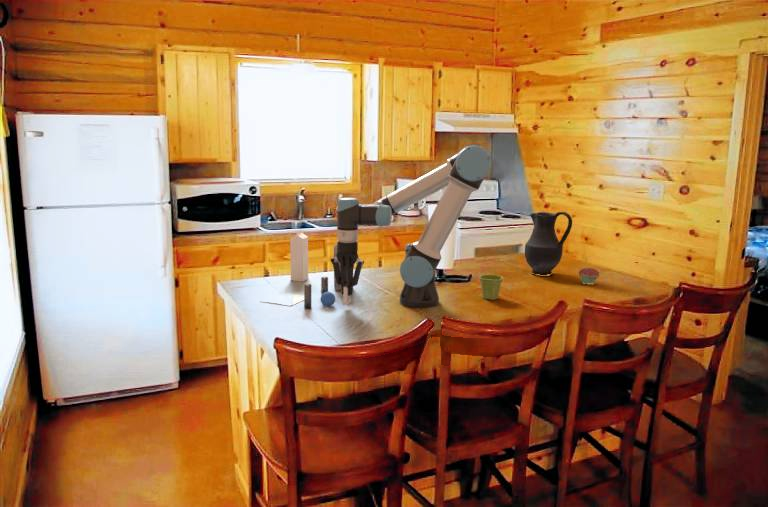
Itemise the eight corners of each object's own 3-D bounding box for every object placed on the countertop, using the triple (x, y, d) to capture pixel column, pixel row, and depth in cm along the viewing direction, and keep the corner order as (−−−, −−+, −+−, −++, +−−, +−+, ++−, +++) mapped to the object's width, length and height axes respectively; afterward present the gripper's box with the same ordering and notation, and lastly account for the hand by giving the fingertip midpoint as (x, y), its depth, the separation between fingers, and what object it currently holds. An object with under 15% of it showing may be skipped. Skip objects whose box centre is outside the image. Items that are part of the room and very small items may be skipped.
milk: (290, 280, 268) (289, 230, 264) (295, 277, 274) (294, 228, 270) (303, 281, 267) (302, 231, 262) (308, 278, 273) (307, 229, 268)
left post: (312, 307, 228) (312, 284, 226) (309, 309, 226) (308, 286, 224) (306, 307, 229) (306, 283, 227) (303, 308, 227) (302, 285, 225)
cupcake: (577, 285, 269) (579, 258, 266) (579, 280, 276) (581, 254, 274) (598, 287, 266) (600, 260, 263) (599, 282, 273) (601, 256, 271)
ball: (322, 294, 234) (329, 306, 234) (315, 297, 229) (323, 310, 229) (332, 287, 232) (340, 300, 232) (326, 290, 227) (334, 303, 227)
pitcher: (531, 268, 300) (535, 207, 294) (573, 274, 288) (579, 211, 282) (517, 274, 286) (521, 210, 280) (560, 281, 274) (565, 214, 268)
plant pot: (473, 296, 248) (474, 275, 246) (493, 294, 252) (494, 273, 250) (486, 302, 240) (487, 280, 238) (506, 300, 243) (507, 278, 242)
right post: (329, 299, 240) (329, 277, 238) (326, 301, 237) (325, 278, 235) (323, 298, 241) (323, 276, 239) (320, 300, 238) (320, 277, 236)
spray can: (350, 292, 250) (350, 244, 246) (331, 291, 252) (331, 243, 248) (355, 287, 258) (356, 240, 254) (336, 286, 260) (336, 239, 256)
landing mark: (310, 297, 242) (310, 296, 242) (290, 306, 230) (290, 305, 230) (279, 293, 248) (279, 292, 248) (259, 301, 235) (259, 301, 235)
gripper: (326, 240, 222) (326, 303, 227) (359, 244, 217) (358, 308, 222) (336, 237, 229) (336, 298, 234) (368, 240, 224) (367, 303, 228)
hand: (346, 303), depth 228 cm, fingers closed
